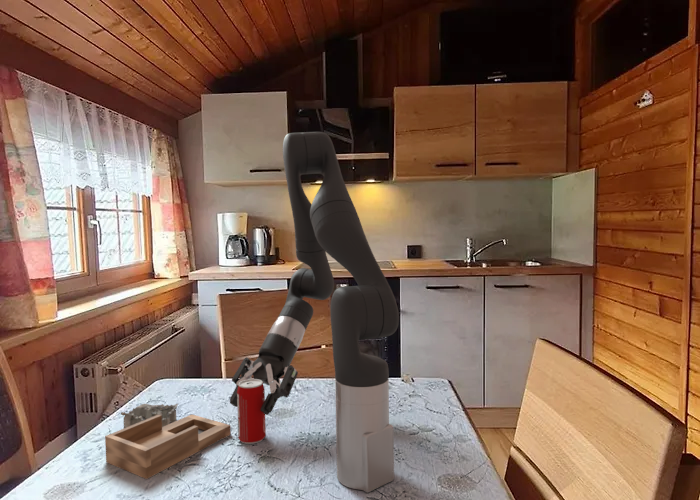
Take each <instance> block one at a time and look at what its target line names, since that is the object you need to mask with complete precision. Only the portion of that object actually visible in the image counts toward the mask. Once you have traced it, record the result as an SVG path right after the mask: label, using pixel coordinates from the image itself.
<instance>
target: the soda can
mask: <svg viewBox="0 0 700 500" xmlns="http://www.w3.org/2000/svg"><path fill="white" fill-rule="evenodd" d="M265 392H266V391H265V386H264V383H263V382H262V380H259V379H248V380H244V381H241V382H239V384H238V390H237V407H236V408H237V433H238V435H237V437H238V440H239V441H240V442H241V443H242V444H246V445H254V444H258V443H260V442H262V441H263V440H264V439H265V437H266V436H267V432H266V430H267V429H266V414H264V413H263V412H261V407H262V405H263V403H264V401H265V399H266V396H265Z"/></svg>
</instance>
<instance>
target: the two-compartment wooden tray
mask: <svg viewBox="0 0 700 500" xmlns="http://www.w3.org/2000/svg"><path fill="white" fill-rule="evenodd" d="M143 420H144V421H141V422H139V423H136V424H134V425H131V426H129V427H126V428H124V427H123V428H122V429H119V430H117V431H114V432H113V433H112V432H111V433H109V434H107V435H105V436H104V441H105V444H104V445H105V463H107V464H110V465H112V466H114V467H117V468H119V469H121V470H124V471H125V472H128V473H131V474H134V475H135V476H139V477H141V478H143V479H145V480H148V479H149V478H151V477H153V476H155V475H157V474H159V473H161V472H163V471H165V470H167V469H168V468H170V467H172V466H174V465H177V464H178V463H179V462H182V461H183V460H186V459H188V458H189V457H191V456H193V455H195V454H197V453H199V452H200V451H203V450H205V449H206V448H208V447H210V446H212V445H213V444H215V443H217V442H219V441H222V440H224V439H225V438H227V437H229V436H230V435H232V433H231V431H232V430H231V425H230V424H227V423H224V422H220V421H217V420H214V419H210V418H207V417H202V416H199V415H197V414H189V415H187V416H184V417H183V418H180V419H178V420H176V421H174V422H170V424H168V425H166V426H164V427H162V416H161V415H156V416H154V417H151V418H149V419H143Z"/></svg>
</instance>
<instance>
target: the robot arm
mask: <svg viewBox="0 0 700 500" xmlns="http://www.w3.org/2000/svg"><path fill="white" fill-rule="evenodd" d="M282 159H283V161H282V162H283V166H284V172H285V178H286V186H287V192H288V198H289V203H290V207H291V212H292V219H293V224H294V225H293V226H294V241H295V254H296V255H295V256H296V258H297V260H298V261H299V262H301V263H303V264H305V265H307V266H308V267H309V268H306V267H304V268H303V267H302V268H299V269H297V270H296V271H294V272H293V274H292V275H291V278H290V281H289V287H288V291H287V295H286V300H285V304H284V305H283V307H282V309H281V310H280V313H279V314H278V317H277V318H276V320H275V321H274V322H273V324H272V326H271V327H270V330H269V331H268V332H267V335H266V336H265V338H264V341H263V342H262V344H261V345H260V348H259V350H258V357H257V358H256V359H255V360H251V359H250V358H249V357H247V356H246V357H244V358H243V360H242V361H241V363H240V365H239V366H238V369H237V370H236V371H235V373H234V375H233V377H232V378H231V381H232V382H233V384H235V388H234V390H233V392H232V394H231V396H230V398H229V404H231V405H232V406H233V407H235V408H238V407H237V390H238V384H239V382H241V381H244V380H248V379H259V380H262V382H263V384H265V385H267V386H269V390H270V391H269V392H268V393H267V395H266V396H265V401H264V403H263V405H262V407H261V412H263V413H264V414H265V416H269V415H270V413H271V412H272V411H273V410H274V407H275V406H276V403H277V401H278V399H280V398H281V397H284V398H288V397H289V396H290V394H291V391H292V388H293V386H294V384H295V381H296V379H297V377H298V374H299V372H298V371H297V369H296V368H295V367H294V366H293V365H291V364H292V362H293V359H294V357H295V356H296V353H297V352H298V349H299V347H300V345H301V343H302V341H303V340H304V339H303V338H304V335H305V332H306V330H307V328H308V326H309V324H310V322H311V320H312V318H313V316H314V308H313V306H312V305H311V304H310V303H309V302H308V301H307V300H304V298H307V299H313V300H320V301H325V300H327V299H328V298H330V297H331V300H330V323H331V324H330V325H331V338H332V356H333V365H334V373H335V374H334V381H335V382H334V385H335V386H334V387H335V390H334V391H335V394H334V395H335V399H334V400H335V429H336V430H335V435H336V436H335V442H336V443H335V444H336V445H335V446H336V451H335V452H336V475H337V476H336V478H337V480H338V481H339V483H340V484H342V485H343V486H345V487H347V488H350V489H354V490H359V491H360V490H362V491H363V492H365V493H370V492H372V491H374V490H375V489H378V488H380V487H383V486H384V485H387V484H389V483H391V482H392V481H394V480H395V454H394V450H395V449H394V442H395V441H394V438H395V437H394V426H393V424H391V423H390V400H389V399H390V395H389V394H390V393H389V392H390V387H389V386H390V385H389V383H390V381H389V378H390V377H389V375H390V374H389V373H390V372H389V370H390V369H389V363H388V362H387V361H386V360H385V359H383V358H381V357H379V356H376V355H372V354H369V353H365V352H362V351H361V349H360V348H361V347H360V344H359V341H363V340H373V339H380V338H385V337H389V336H392V335H393V334H395V332H396V331H397V329H398V327H399V324H400V323H399V322H400V321H399V320H400V313H399V309H398V308H399V307H398V305H397V300H396V297H395V295H394V293H393V290H392V287H391V286H390V284H389V282H388V280H387V278H386V277H385V274H384V273H383V271H382V269H381V267H380V265H379V264H378V262H377V260H376V257H375V255H374V254H373V251H372V249H371V246H370V244H369V242H368V239H367V237H366V234H365V232H364V228H363V226H362V223H361V221H360V220H361V219H360V217H359V215H358V212H357V209H356V206H355V205H354V203H353V202H354V201H352V198H351V196H350V194H349V192H348V188H347V186H346V183H345V181H344V178H343V175H342V172H341V171H342V170H341V168H340V164H339V159H338V156H337V153H336V150H335V146H334V144H333V141H332V139H331V137H330V136H329V135H328V133H326V132H323V131H306V132H305V131H304V132H290V133H287V134H285V137H284V138H283V141H282ZM312 174H313V175H315V174H319V175H321V176H323V179H322V182H321V185H320V187H319V188H318V190H317V192H316V194H315V196H314V198H313V200H312V203H311V201H310V200H309V198H308V197H307V195H306V193H305V191H304V189H303V185H302V179H301V176H302V175H312ZM327 254H328V255H329V256H330V257H331V258H332V259H334V260H335V261H336V262H337V263H339V265H341V266H342V267H343V268H344V269H346V270H347V272H349V274H350V275H351V276H352V277H353V279H354V280H355V282H356V284H357V285H352V286H351V285H350V286H340V287H338V288H336V289H335V290H334V288H335V280H334V275H333V272H332V269H331V266H330V263H329V260H328V257H327ZM252 376H253V377H252ZM282 377H283V378H282ZM281 378H282V380H281Z"/></svg>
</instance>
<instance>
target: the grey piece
mask: <svg viewBox="0 0 700 500" xmlns="http://www.w3.org/2000/svg"><path fill="white" fill-rule="evenodd" d="M178 405H179V403H175V404H169V405H168V404H166V405H165V404H163V403H161V404H148V403H142V404H140V405H138V406H136V407H134V408H132V410H129V412H127V413H126V412H124V411H122V412H120V416H121V415H122V417H123V429H124V428H126V427H129V426H131V425H134V424H136V423H139V422H141V421H144V420H146V419H149V418H151V417H154V416H156V415H161V416H162V427H164V426H166V425H168V424H171V423H173V422H175V421H178V420H177V407H178Z"/></svg>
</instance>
